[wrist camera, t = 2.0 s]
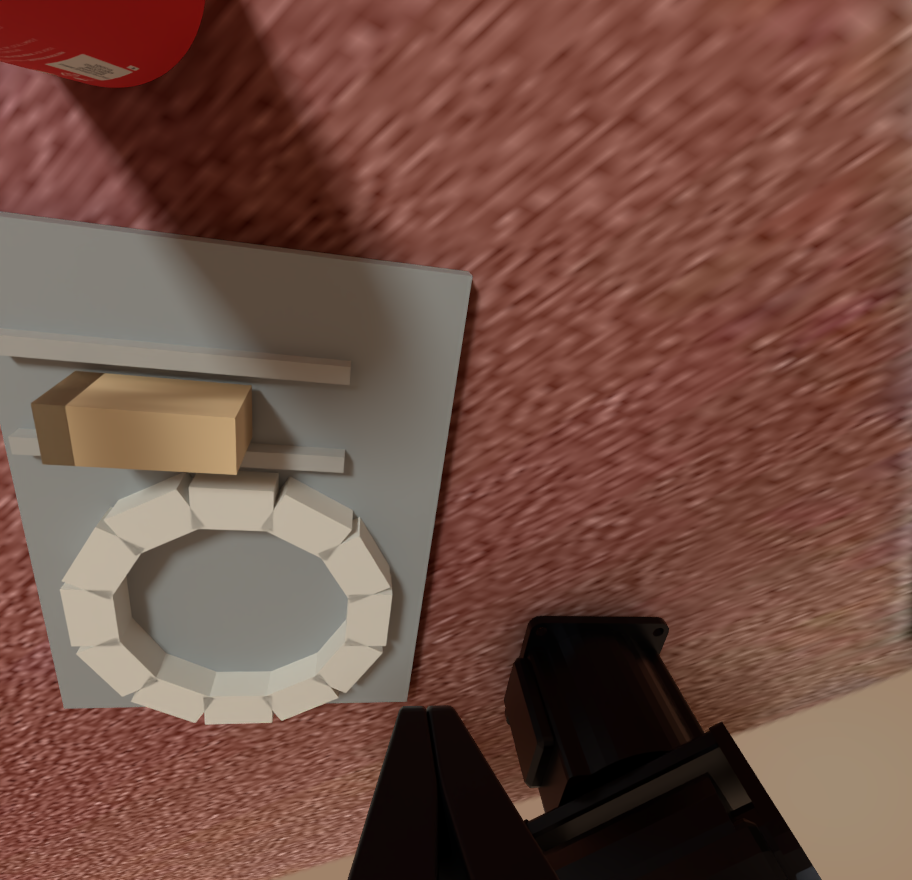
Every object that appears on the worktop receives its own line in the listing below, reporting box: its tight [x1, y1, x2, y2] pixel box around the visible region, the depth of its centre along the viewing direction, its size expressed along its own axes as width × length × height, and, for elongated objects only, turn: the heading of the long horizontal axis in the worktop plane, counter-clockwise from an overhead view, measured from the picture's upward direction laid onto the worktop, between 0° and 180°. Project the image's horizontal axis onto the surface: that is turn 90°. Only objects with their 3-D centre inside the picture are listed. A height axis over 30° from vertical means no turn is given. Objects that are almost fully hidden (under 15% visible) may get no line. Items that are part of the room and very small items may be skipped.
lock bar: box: [31, 371, 252, 475], centre depth 16 cm, size 5×2×2 cm, turn 82°
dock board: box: [0, 212, 472, 724], centre depth 20 cm, size 14×19×2 cm
